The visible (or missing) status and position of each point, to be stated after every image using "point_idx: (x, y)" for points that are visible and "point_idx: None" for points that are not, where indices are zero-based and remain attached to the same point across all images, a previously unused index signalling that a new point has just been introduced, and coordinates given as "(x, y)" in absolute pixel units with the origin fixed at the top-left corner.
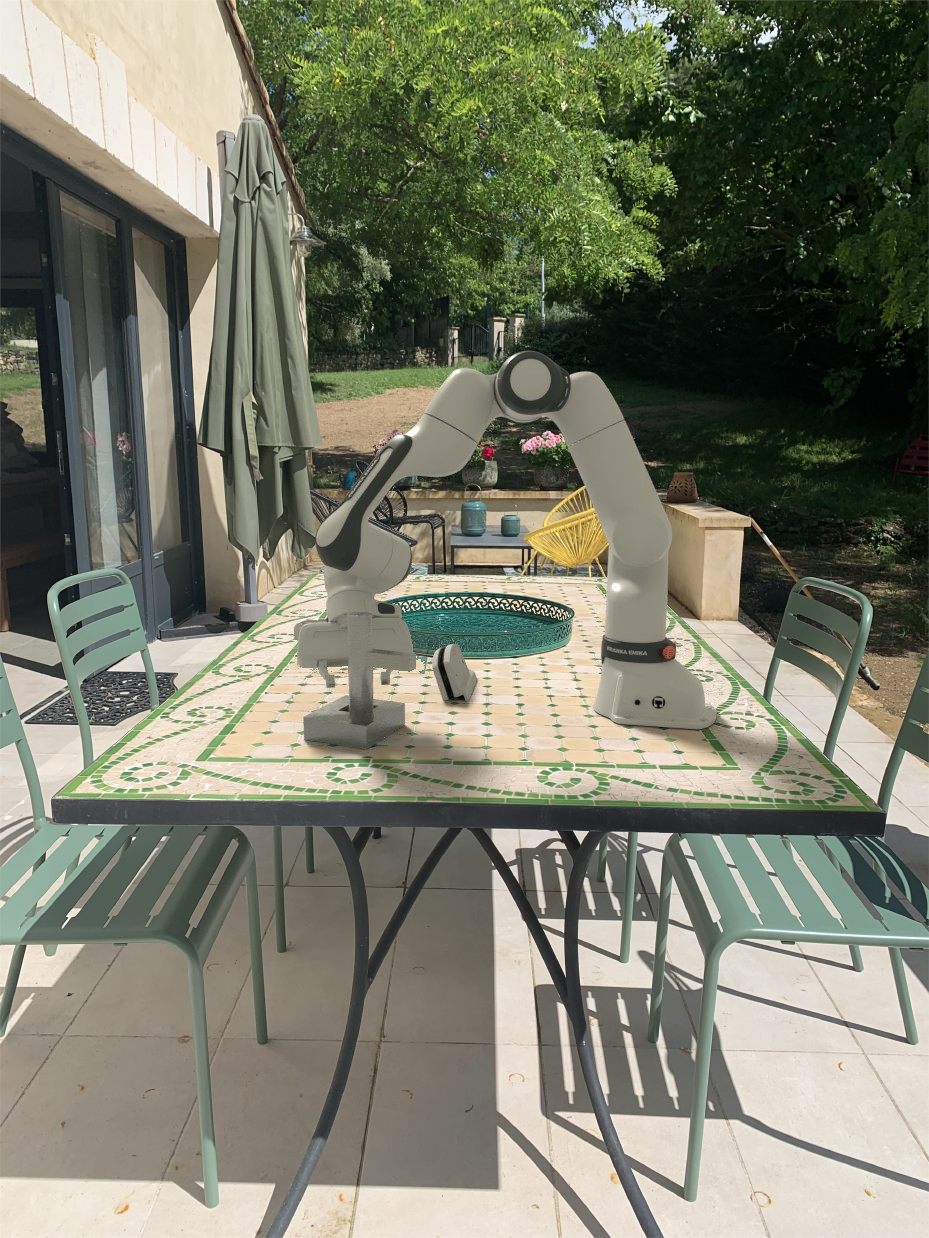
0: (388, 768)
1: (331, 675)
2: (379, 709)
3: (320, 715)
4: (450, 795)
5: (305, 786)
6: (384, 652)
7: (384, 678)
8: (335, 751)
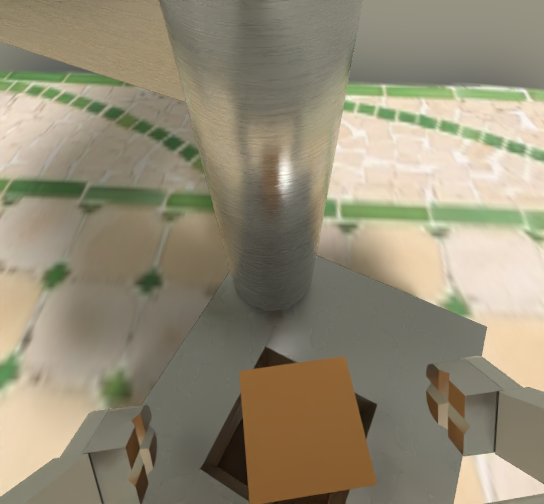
0: None
1: (481, 389)
2: (202, 407)
3: (428, 339)
4: (136, 89)
5: (359, 116)
6: None
7: (123, 412)
8: (336, 258)
